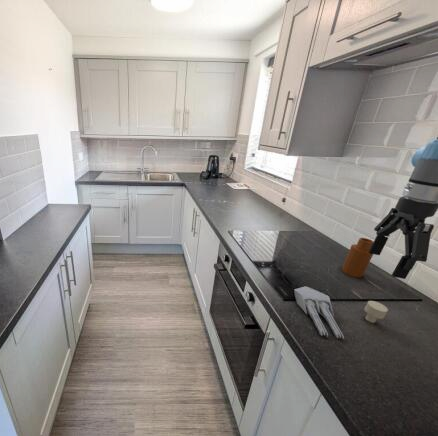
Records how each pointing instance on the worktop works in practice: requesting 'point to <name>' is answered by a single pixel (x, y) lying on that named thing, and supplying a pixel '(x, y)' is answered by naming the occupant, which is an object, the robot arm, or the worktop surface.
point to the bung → (375, 311)
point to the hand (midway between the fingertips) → (385, 264)
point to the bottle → (358, 258)
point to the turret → (317, 309)
